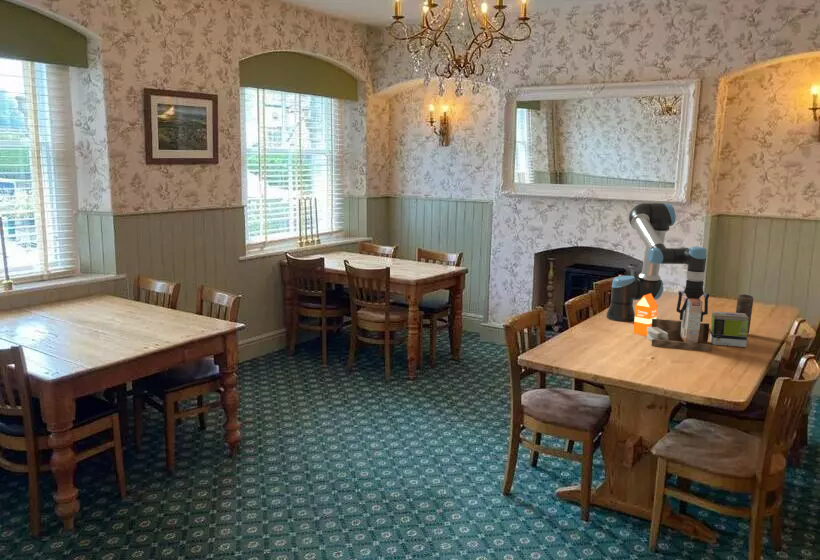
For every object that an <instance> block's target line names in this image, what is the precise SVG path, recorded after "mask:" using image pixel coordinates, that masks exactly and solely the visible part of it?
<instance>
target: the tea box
mask: <svg viewBox="0 0 820 560" xmlns="http://www.w3.org/2000/svg"><path fill="white" fill-rule="evenodd" d="M748 322H749V317H748V316H747V315H746V314H745V313H736V312H731V311H730V312H729V311H715V310H714V311H712V312H711V322H710V334H709V340H710V341H711V342H710V343H711V345H716V346H717V345H718V346H727V345H728V347H730V346H731V347H742V348H747V343H748V342H747V341H748V334H749V333H748Z"/></svg>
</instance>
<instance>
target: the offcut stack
mask: <svg viewBox="0 0 820 560" xmlns="http://www.w3.org/2000/svg"><path fill="white" fill-rule="evenodd" d="M647 331H648V335H647V336H646V339H647V340H648V341H650V342H652V339H659V340H670V339H669V337H668V333H667V332H665V331H663V330H661V329H660V328H658V327H647Z"/></svg>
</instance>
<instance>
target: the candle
mask: <svg viewBox="0 0 820 560" xmlns="http://www.w3.org/2000/svg"><path fill="white" fill-rule="evenodd" d="M754 300H755V299H754V297H753V296H752V295H749V294H738V295H737V300H736V301H737V302H736V306H735V308H736V309H735V313H745V314H746V315H747V316H748V317H749V322H748V334H749V333H750V329H751V320H752V311H753V307H754V306H753V305H754Z"/></svg>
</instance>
